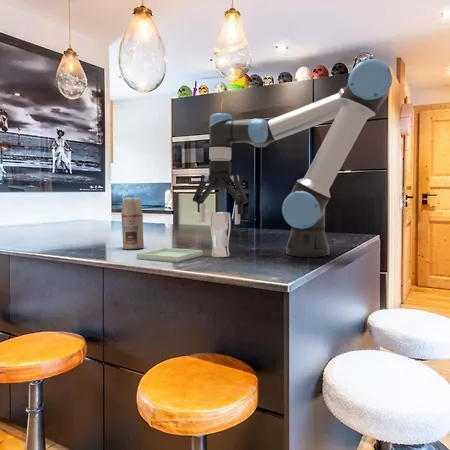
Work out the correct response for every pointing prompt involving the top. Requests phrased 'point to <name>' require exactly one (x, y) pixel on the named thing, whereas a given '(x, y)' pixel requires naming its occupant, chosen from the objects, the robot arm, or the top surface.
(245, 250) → the top surface
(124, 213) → the spray can
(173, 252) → the tray
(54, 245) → the top surface
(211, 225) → the beer glass
